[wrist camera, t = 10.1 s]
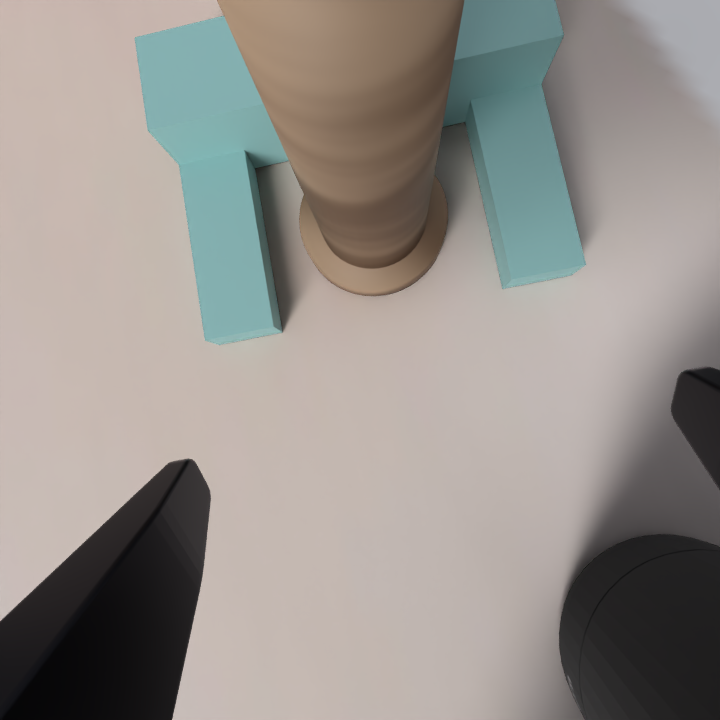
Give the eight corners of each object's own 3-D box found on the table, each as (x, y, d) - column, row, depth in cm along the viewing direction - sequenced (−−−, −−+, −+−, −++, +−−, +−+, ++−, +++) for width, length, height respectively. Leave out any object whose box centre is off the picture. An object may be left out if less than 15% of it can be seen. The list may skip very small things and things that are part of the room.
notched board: (571, 275, 19) (617, 242, 15) (218, 344, 20) (176, 331, 16) (511, 28, 21) (539, -61, 17) (182, 104, 21) (134, 37, 17)
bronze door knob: (413, 316, 20) (456, 120, 6) (283, 266, 20) (41, -18, 6) (465, 187, 20) (627, -298, 6) (336, 142, 21) (214, -386, 7)
